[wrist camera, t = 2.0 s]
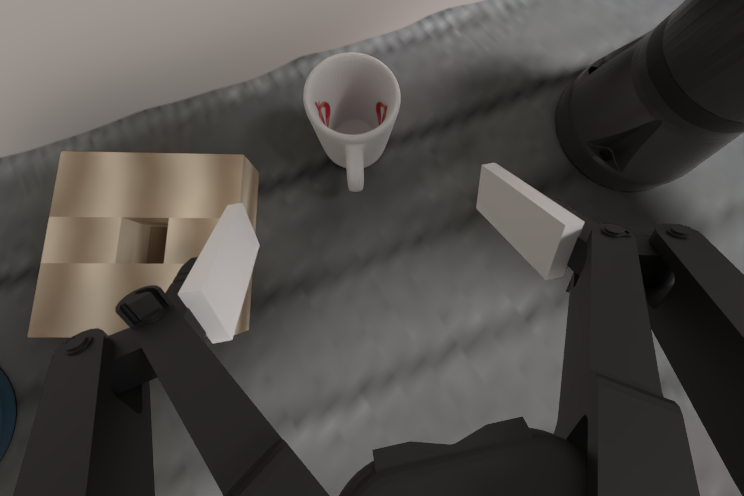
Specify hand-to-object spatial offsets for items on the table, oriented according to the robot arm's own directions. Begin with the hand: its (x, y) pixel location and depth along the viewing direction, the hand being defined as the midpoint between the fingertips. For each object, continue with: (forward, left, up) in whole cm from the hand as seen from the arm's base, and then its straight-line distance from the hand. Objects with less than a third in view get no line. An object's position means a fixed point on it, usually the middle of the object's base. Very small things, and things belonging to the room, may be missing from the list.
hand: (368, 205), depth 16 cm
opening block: (+19, 0, -13) cm, 23 cm away
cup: (+1, -10, -14) cm, 17 cm away
